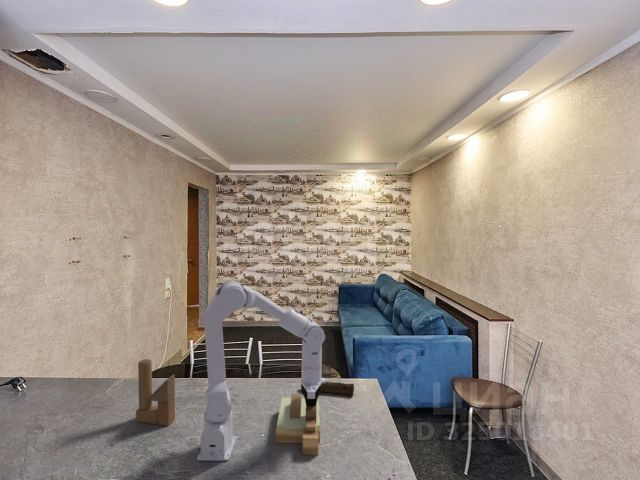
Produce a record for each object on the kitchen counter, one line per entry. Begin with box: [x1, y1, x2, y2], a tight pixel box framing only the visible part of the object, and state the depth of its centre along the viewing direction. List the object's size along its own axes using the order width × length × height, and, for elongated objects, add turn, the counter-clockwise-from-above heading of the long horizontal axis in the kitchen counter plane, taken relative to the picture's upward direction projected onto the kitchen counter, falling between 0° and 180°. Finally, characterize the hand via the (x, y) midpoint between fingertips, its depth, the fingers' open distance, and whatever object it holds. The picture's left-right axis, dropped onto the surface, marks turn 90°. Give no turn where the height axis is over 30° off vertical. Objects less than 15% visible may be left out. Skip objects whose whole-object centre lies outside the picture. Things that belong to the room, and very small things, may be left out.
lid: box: [276, 393, 320, 430], centre depth 103 cm, size 15×12×4 cm
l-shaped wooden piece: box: [305, 406, 317, 432], centre depth 95 cm, size 6×3×4 cm, turn 1°
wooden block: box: [135, 358, 176, 427], centre depth 104 cm, size 4×11×18 cm, turn 79°
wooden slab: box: [275, 404, 321, 456], centre depth 100 cm, size 21×12×4 cm, turn 1°
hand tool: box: [300, 381, 355, 398], centre depth 124 cm, size 19×4×5 cm, turn 77°
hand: (311, 410), depth 100 cm, fingers closed
